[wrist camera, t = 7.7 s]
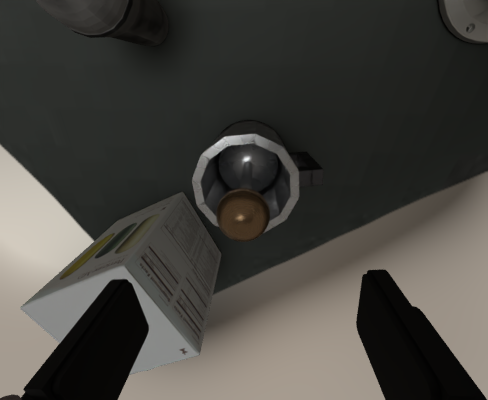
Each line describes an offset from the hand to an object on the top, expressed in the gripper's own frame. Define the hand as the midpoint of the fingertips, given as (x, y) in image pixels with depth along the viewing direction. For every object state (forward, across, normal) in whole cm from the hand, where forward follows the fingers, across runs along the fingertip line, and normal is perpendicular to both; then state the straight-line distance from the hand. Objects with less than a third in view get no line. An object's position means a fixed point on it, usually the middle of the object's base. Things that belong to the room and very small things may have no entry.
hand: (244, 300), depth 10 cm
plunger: (+23, +1, +1) cm, 23 cm away
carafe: (+26, 0, +1) cm, 26 cm away
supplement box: (+25, +16, +13) cm, 32 cm away
